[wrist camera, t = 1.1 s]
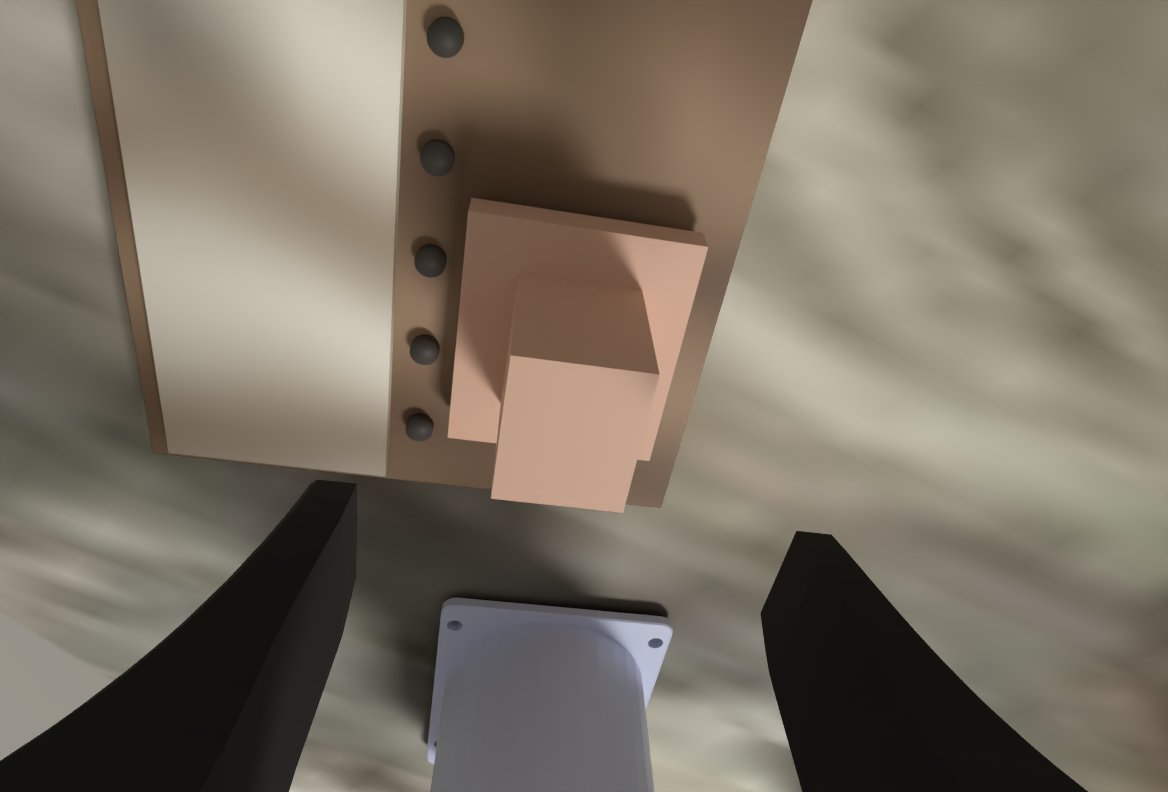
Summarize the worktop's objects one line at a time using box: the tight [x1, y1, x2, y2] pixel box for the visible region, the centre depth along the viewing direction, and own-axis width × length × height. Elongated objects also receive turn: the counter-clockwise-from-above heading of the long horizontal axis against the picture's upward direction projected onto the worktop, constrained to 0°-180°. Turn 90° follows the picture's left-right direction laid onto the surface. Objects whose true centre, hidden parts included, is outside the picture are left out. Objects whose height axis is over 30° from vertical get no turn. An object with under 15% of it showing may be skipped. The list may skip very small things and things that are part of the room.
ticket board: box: [76, 0, 812, 508], centre depth 18 cm, size 16×14×2 cm
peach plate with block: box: [448, 198, 708, 513], centre depth 17 cm, size 6×5×4 cm
